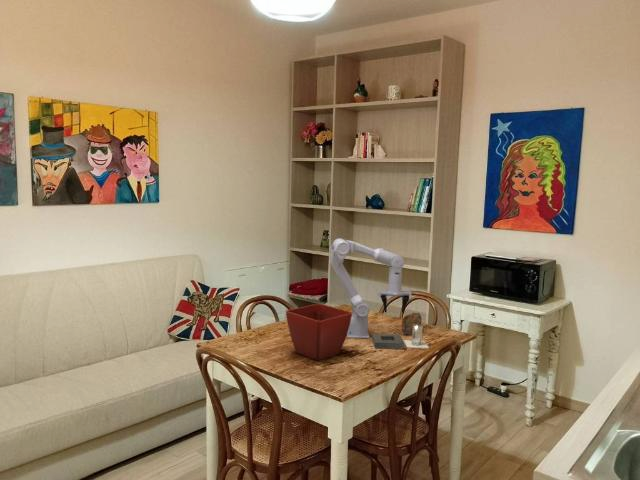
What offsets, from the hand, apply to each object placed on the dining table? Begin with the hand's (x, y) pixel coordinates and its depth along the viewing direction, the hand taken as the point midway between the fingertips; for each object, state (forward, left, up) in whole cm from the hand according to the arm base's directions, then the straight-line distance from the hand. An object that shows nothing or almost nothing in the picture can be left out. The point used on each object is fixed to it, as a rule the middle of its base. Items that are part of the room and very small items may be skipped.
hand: (394, 312), depth 228 cm
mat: (+8, -13, -10) cm, 18 cm away
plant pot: (-33, -26, -11) cm, 43 cm away
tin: (+9, +5, -11) cm, 15 cm away
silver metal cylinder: (+8, -13, -10) cm, 18 cm away
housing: (-4, -13, -10) cm, 17 cm away
